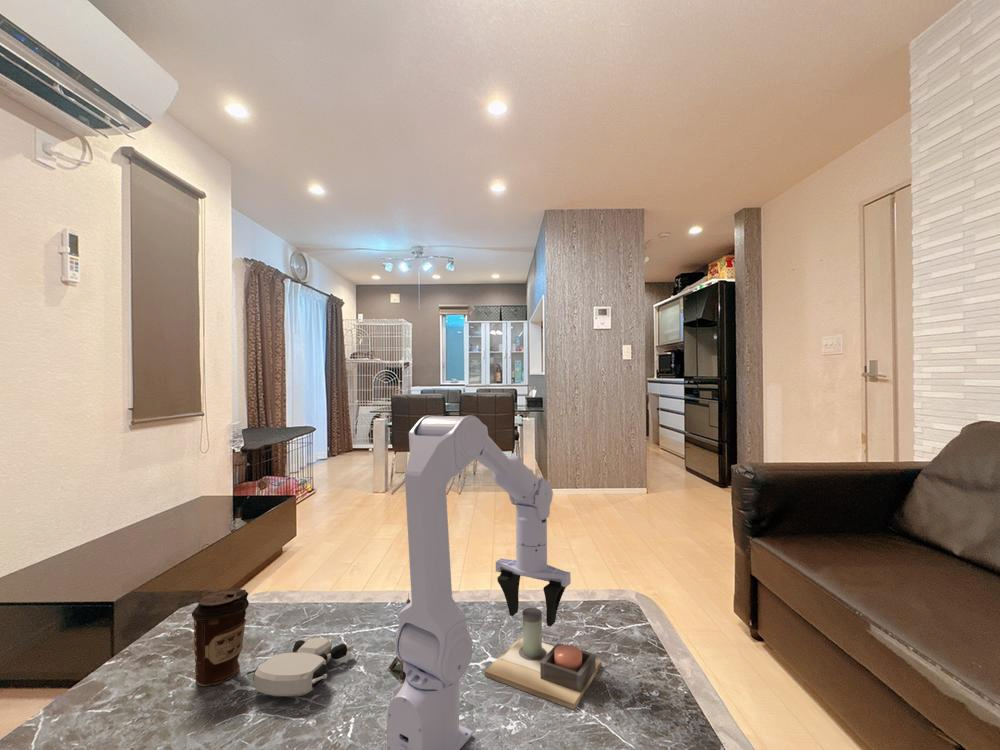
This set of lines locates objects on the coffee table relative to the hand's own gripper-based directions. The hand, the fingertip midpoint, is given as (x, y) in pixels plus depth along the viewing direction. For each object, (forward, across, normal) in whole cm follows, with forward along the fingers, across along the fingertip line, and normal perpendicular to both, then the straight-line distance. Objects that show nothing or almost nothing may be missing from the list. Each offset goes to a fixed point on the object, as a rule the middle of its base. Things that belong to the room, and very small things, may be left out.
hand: (532, 618), depth 78 cm
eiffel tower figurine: (+8, +16, +14) cm, 23 cm away
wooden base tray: (+7, -4, +2) cm, 8 cm away
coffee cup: (+7, +44, +32) cm, 54 cm away
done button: (+5, -8, +2) cm, 9 cm away
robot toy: (+7, +31, +25) cm, 40 cm away
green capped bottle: (+6, 0, 0) cm, 6 cm away
